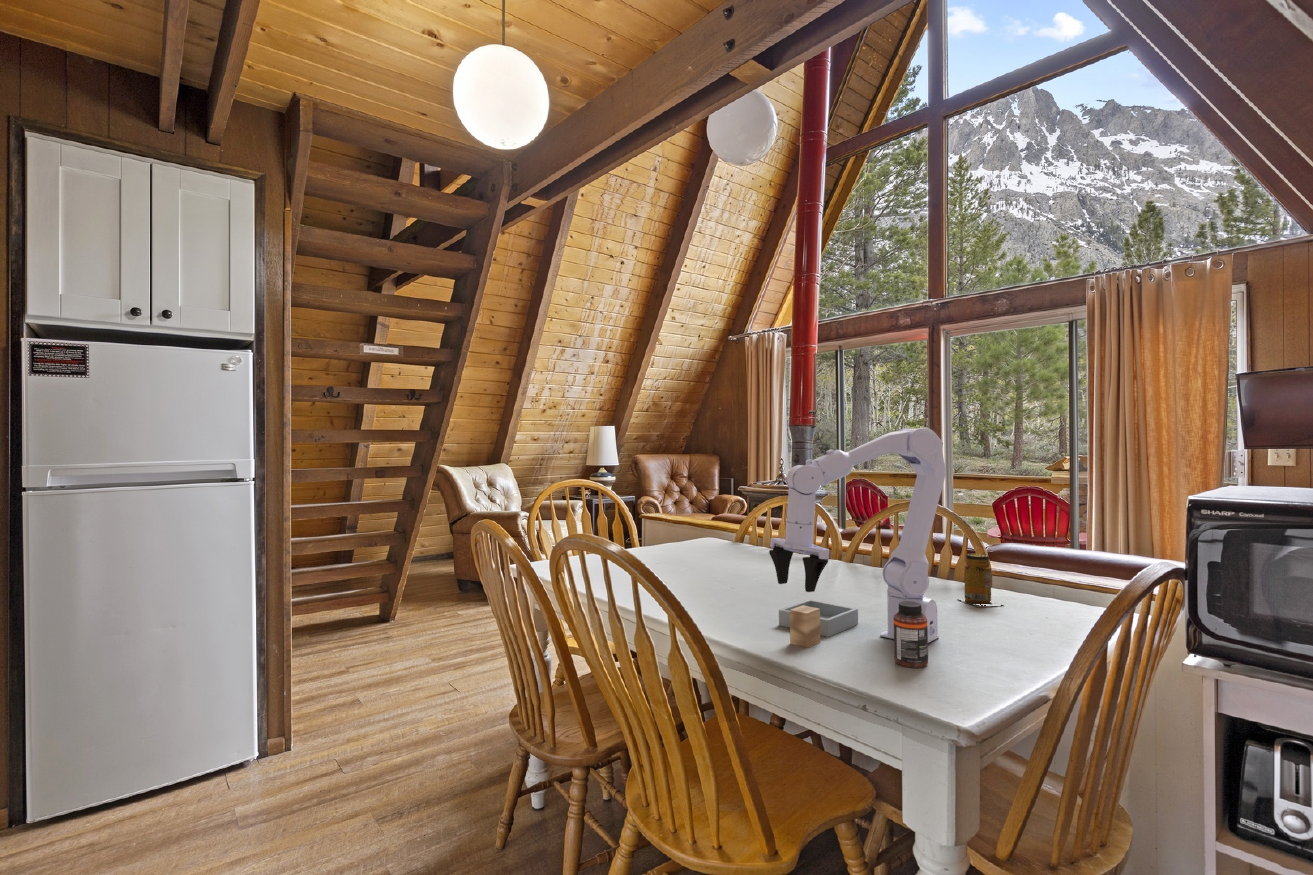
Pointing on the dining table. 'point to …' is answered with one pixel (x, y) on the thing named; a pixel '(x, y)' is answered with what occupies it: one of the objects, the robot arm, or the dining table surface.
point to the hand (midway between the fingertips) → (795, 587)
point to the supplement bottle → (910, 635)
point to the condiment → (977, 580)
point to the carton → (805, 626)
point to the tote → (825, 616)
